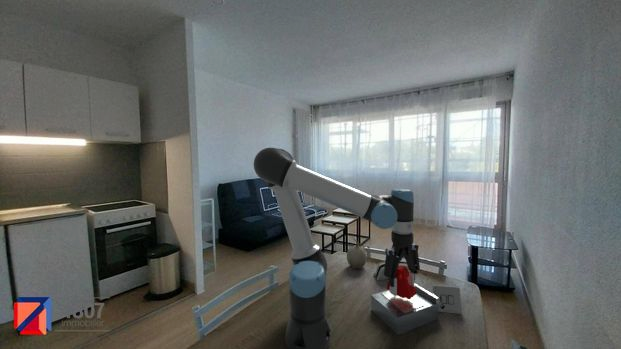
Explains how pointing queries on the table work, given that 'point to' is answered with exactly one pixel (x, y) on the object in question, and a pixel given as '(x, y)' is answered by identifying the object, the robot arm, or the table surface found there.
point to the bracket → (403, 283)
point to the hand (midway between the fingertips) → (402, 291)
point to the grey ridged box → (405, 309)
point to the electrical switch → (448, 298)
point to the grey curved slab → (380, 270)
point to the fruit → (356, 256)
